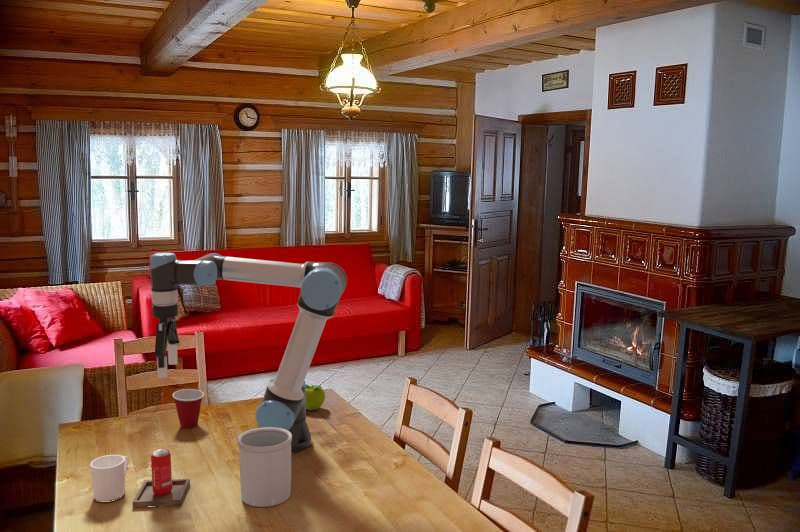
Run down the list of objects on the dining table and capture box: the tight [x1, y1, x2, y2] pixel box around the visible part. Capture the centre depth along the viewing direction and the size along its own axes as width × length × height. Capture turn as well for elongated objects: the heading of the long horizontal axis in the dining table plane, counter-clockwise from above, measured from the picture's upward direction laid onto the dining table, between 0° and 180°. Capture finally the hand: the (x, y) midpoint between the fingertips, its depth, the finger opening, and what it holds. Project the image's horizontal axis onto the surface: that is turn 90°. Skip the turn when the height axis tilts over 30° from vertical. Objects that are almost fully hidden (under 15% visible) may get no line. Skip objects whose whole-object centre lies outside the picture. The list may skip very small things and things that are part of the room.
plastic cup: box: [172, 388, 205, 429], centre depth 241 cm, size 11×11×12 cm
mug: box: [89, 454, 130, 502], centre depth 191 cm, size 11×9×10 cm
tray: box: [131, 478, 191, 508], centre depth 191 cm, size 13×13×2 cm
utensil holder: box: [237, 427, 292, 508], centre depth 191 cm, size 15×15×18 cm
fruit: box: [305, 383, 326, 411], centre depth 259 cm, size 9×9×10 cm
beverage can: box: [150, 448, 173, 497], centre depth 191 cm, size 5×5×12 cm
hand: (168, 370), depth 211 cm, fingers open, 13 cm apart
